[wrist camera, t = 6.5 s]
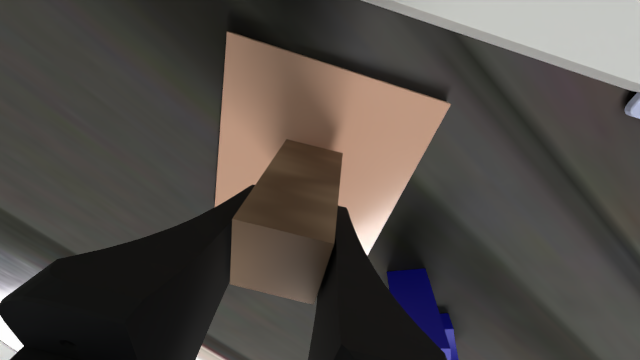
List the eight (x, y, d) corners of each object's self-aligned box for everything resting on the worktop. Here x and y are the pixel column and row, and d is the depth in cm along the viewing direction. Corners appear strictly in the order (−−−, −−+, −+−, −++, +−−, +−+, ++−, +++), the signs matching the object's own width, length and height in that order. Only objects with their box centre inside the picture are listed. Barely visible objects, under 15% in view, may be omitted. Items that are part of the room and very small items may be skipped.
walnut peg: (342, 153, 13) (334, 243, 7) (329, 199, 15) (313, 304, 9) (286, 139, 13) (231, 218, 7) (279, 186, 15) (229, 284, 9)
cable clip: (449, 348, 25) (475, 430, 19) (403, 349, 26) (415, 427, 20) (445, 265, 19) (478, 348, 14) (386, 270, 20) (397, 349, 15)
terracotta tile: (447, 101, 13) (450, 104, 13) (366, 251, 19) (366, 257, 19) (232, 32, 13) (227, 31, 12) (218, 207, 19) (214, 212, 18)
